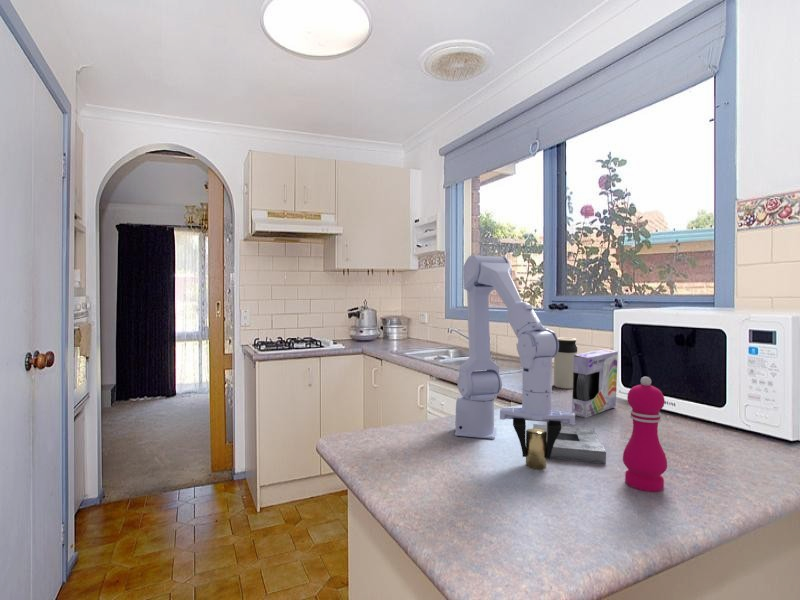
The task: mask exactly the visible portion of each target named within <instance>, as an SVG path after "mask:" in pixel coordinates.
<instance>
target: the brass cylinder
mask: <svg viewBox="0 0 800 600" xmlns="http://www.w3.org/2000/svg"><path fill="white" fill-rule="evenodd" d="M525 441H526V457H525V466H526V467H527V468H529V469H532V470H536V469H537V470H538V471H539V470H540V471H542V470H545V469H546V468H547V458H546V452H547V432H546V431H544V430H541V429H533V428H527V429H526V431H525Z"/></svg>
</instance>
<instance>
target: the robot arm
mask: <svg viewBox="0 0 800 600" xmlns="http://www.w3.org/2000/svg"><path fill="white" fill-rule="evenodd" d="M462 267H463V268H462V275H463V276H462V277H463V278H462V279H463V289H464V290H465V291H466V297H467V323H468V324H467V325H468V326H467V328H468V330H467V331H468V355H469V357H468V358H467V360H465V361H464V362H463V363H462V364H461V365H459V366H458V367H459V368H458V369H459V370H458V377H457V389H458V391H459V393H460V395H461V396H457V397H456V403H455V434H454V435H455V436H457V437H458V436H459V437H466V438H467V437H469V438H478V439H479V438H480V439H490V440H493V439H496V434H497V433H496V432H497V427H495V399H497V398H498V395H499V394H500V393H501V391H502V388H503V379H502V376H501V373H500V366H499V365H498V364H497V363H496V362H495V361H494V360H493V359H492V358H491V342H490V341H491V340H490V338H491V337H490V316H489V315H490V313H489V312H490V311H489V309H490V308H489V295H490V294H491V293H492V291H496V293H497V294H498V296H499V298H500V300H501V301H502V302H503V304H504V305H505V306H506V309H507V310H506V313H505V317H506V320H507V321H508V323H509V325H510V327H511V328H512V330H513V332H514V334H515V336H516V338H517V343H516V350H517V354H518V356H519V364H520V367H522V384H521V385H522V391H521V392H522V395H521V397H522V398H521V399H522V401H521V407H500V409H499V419H500V420H502V421H504V420H512V425H513V428H514V431H515V432H516V435H517V437H518V440H519V443H520V448H521V453H522V455H521V456H522V458H526V430H527V429H526V421H528V422H529V421H531V422H541V423H542V422H544V423H545V422H546V425H547V452H546V460H551V458H550V456H551V452H552V448H553V445H554V443H555V440H556V438H557V436H558V434H559V433H560V431H561V426H562V424H569V425H571V426H572V425H573V426H575V425H576V415H575V414H574V413H572V412H568V411H561V410H554V409H552V407H553V406H552V399H553V397H552V395H553V391H552V390H553V389H552V388H553V385H552V383H553V358H554V357H555V356H556V355H557V353H558V350H559V342H558V338H559V337H558V336H557V335H556V334H557V333H556V332H555V331H553V330H551V329H549V328H548V327H547V326H544V325H543V323H542V322H541V320H540V319H539V317H538V315H537V313H536V312H535V310H534V308H533V306H532V305H531V304H530V303H529V302H526V301H523V300H522V297H521V295H520V294H519V291H518V289H517V287H516V285H515V283H514V280H513V278H512V271H513V270H512V269H513V268H512V265H511V263H510V261H509V259H508V258H507V257H506V256H505V255H504V256H503V255H500V256H491V255H490V256H488V255H475V254H470V255H469V256H468V257H467V258H466V260H465V262H464V264H463V266H462Z"/></svg>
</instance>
